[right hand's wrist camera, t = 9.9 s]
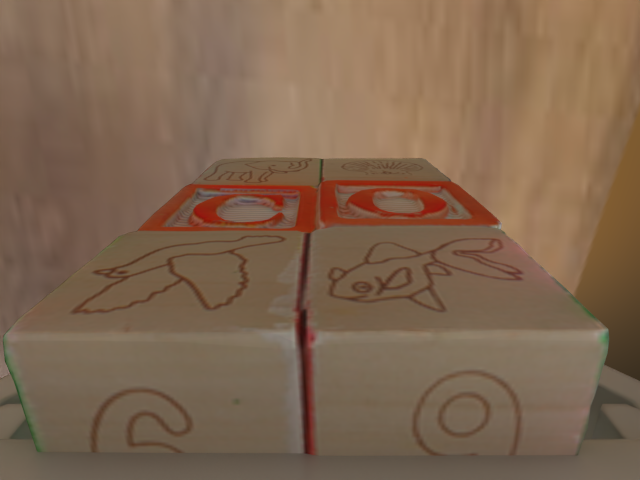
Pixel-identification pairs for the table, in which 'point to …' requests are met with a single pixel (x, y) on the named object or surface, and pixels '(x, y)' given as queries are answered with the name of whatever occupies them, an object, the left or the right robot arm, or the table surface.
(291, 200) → the stack of blocks
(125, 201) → the table surface
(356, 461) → the right robot arm
